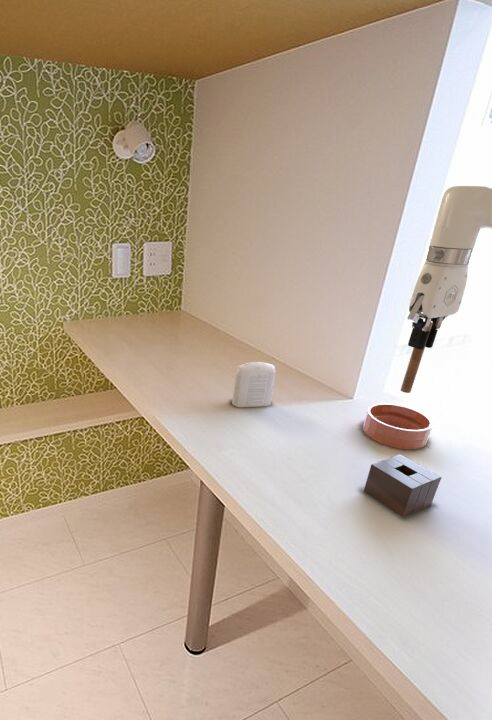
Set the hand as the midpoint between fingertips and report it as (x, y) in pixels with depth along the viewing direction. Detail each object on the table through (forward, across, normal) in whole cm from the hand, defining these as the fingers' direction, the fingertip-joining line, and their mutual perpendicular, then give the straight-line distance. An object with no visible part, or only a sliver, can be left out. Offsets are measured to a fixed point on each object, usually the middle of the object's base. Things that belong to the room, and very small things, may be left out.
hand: (419, 346), depth 92 cm
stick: (+11, 0, 0) cm, 11 cm away
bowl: (+23, 0, 0) cm, 23 cm away
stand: (+23, -20, -16) cm, 34 cm away
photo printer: (+23, -20, +27) cm, 40 cm away
